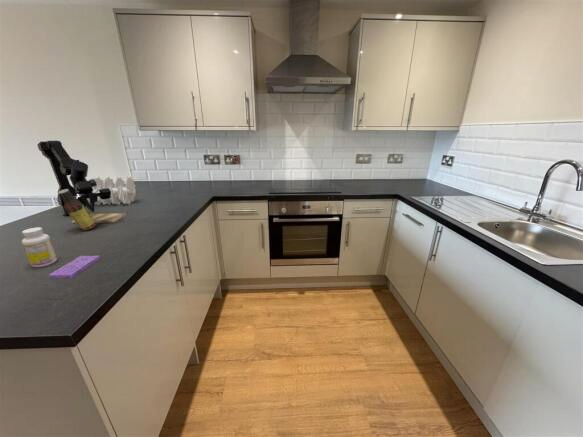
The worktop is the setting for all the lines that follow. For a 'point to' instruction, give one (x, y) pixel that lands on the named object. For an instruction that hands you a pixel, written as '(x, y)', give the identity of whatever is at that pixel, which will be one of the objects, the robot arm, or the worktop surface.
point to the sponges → (74, 267)
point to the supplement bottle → (38, 247)
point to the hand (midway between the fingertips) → (93, 211)
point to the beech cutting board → (106, 217)
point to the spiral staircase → (116, 190)
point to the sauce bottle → (77, 210)
